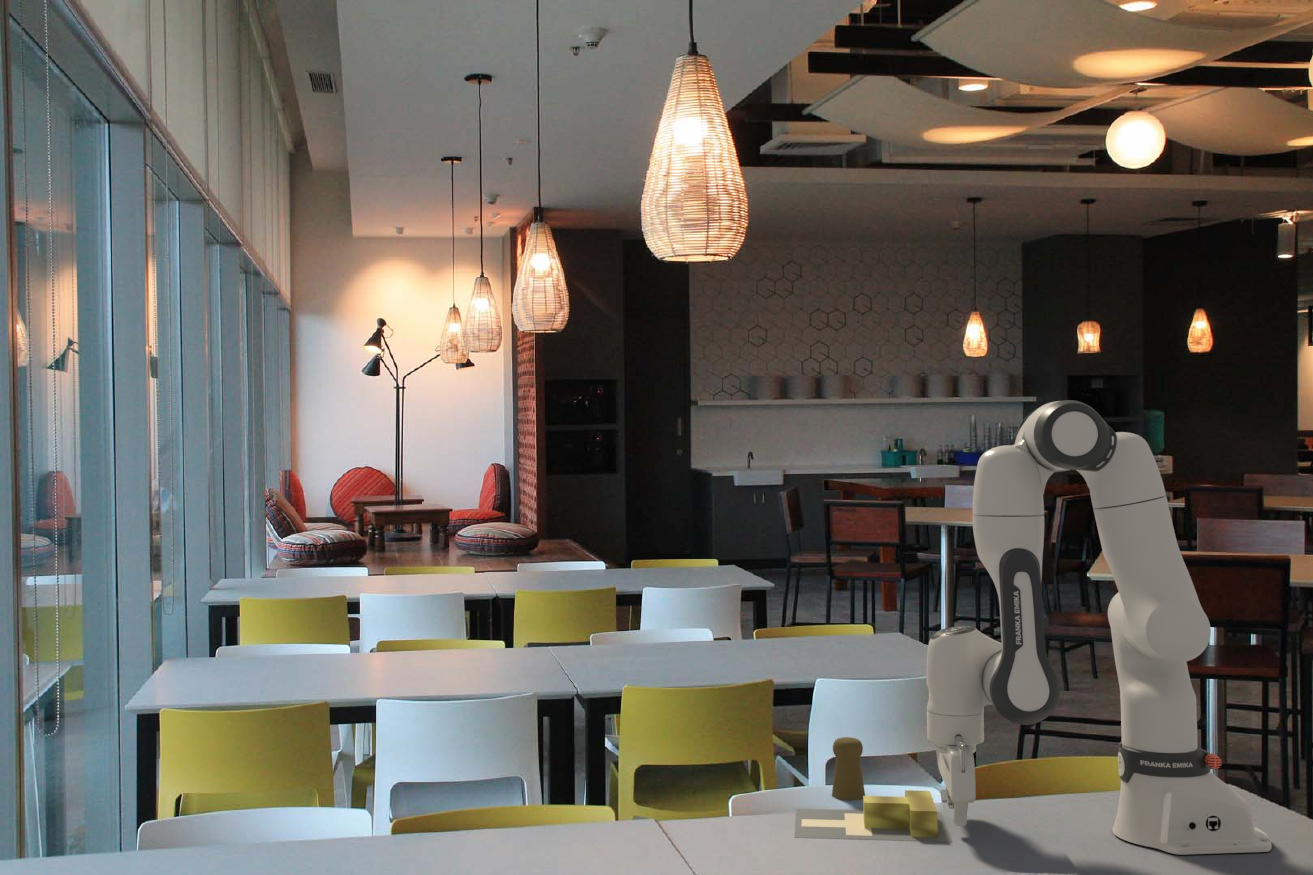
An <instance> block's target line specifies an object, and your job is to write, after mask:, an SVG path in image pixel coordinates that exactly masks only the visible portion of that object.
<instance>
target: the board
mask: <svg viewBox="0 0 1313 875" xmlns="http://www.w3.org/2000/svg"><path fill="white" fill-rule="evenodd" d="M794 823H795V824H794V838H795V839H796V838H797V839H825V840H827V839H828V840H830V839H831V840H858V841H859V840H862V841H867V840H868V841H900V842H903V841H905V842H929V843H930V842H931V843H932V842H933V843H939V842H940V843H953V839H952V836H951V835H950V832H949V830H948V826H947V823H946V821H945V819H944V816H943V813H942V812H941V811H937V826H938V838H937V837H911V833H910V830H909V829H885V828H865V827H864V815H863V809H862V810H859V809H826V808H825V809H823V808H822V809H821V808H795V822H794Z"/></svg>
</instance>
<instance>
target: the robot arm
mask: <svg viewBox="0 0 1313 875" xmlns="http://www.w3.org/2000/svg"><path fill="white" fill-rule="evenodd" d="M1071 470H1072V471H1077V473H1079V474H1080V475H1081V476H1082V478H1083V480H1084V481H1085V482H1086V483H1085V484H1086V485H1087V488H1088V489H1089V495H1090V499H1091V500H1090V501H1091V505H1092V509H1093V510H1092V511H1093V514H1094V515H1093V516H1094V519H1095V522H1096V527H1097V532H1098V537H1099V541H1100V546H1101V550H1102V551H1101V552H1102V554H1103V557H1104V560H1105V561H1106V564H1107V566H1108V568H1109V570H1110V572H1111V576H1112V577H1113V580H1114V582H1115V585H1116V588H1117V590H1118V592H1117V593H1115V595H1113V597H1112V598H1111V599H1110V602H1109V604H1108V608H1107V619H1108V624H1109V626H1110V633H1111V640H1112V641H1111V642H1112V649H1113V656H1114V662H1115V668H1116V673H1117V680H1118V685H1119V695H1120V696H1119V697H1120V721H1121V723H1120V728H1121V732H1120V733H1121V741H1120V742H1119V743H1118V752H1117V759H1118V760H1117V761H1118V762H1117V763H1118V766H1117V768H1118V775H1119V778H1120V788H1119V789H1120V790H1119V800H1118V806H1117V812H1116V816H1115V820H1114V824H1113V827H1112V833H1113V834H1114V835H1115V836H1116V837H1118V838H1120V839H1121V840H1124V841H1127V842H1129V843H1132V844H1136V845H1139V846H1142V847H1143V846H1144V847H1148V848H1153V849H1157V850H1160V851H1163V852H1166V853H1169V854H1174V855H1183V856H1184V855H1205V854H1206V855H1207V854H1210V855H1211V854H1237V853H1239V854H1240V853H1241V854H1242V853H1243V854H1244V853H1265V852H1270V851H1271V850H1272V848H1273V847H1272V840H1271V838H1270V837H1269V836H1268V834H1267V833H1266V832H1264V831H1263V830H1261V829H1260V828H1258V827H1257V826H1255V822H1254V816H1253V814H1252V810H1251V808H1250V805H1249V803H1248V802H1247V801H1246V799H1245V798H1244V797H1243V796H1241V795H1240V794H1239V793H1238V792H1237V791H1236V790H1235V789H1234V788H1232V787H1230V786H1229V784H1228V783H1226V782H1224V781H1223V780H1222V779H1220V778H1219V777H1217V775H1215V774H1214V773H1212V772H1211V770H1212V769H1213V770H1218V769H1220V768H1221V767H1220V766H1222V763H1223V762H1222V759H1221V758H1220V757H1219V756H1218V755H1216V754H1215V753H1213V752H1212V753H1210V752H1209V751H1207V750H1205V749H1203V748H1201V747H1200V746H1198V712H1197V711H1198V710H1197V706H1198V705H1197V696H1196V693H1195V690H1194V688H1193V685H1192V681H1191V677H1190V672H1189V669H1188V667H1189V666H1188V663H1187V662H1189V661H1192V660H1194V659H1196V658H1198V657H1199V656H1200V655H1201V654H1202V653H1203V652H1204V651H1205V650H1206V648H1207V647H1208V645H1209V643H1210V639H1211V636H1212V635H1211V633H1212V630H1211V624H1210V620H1209V618H1208V615H1207V614H1206V613H1205V611H1204V609H1203V607H1202V605H1201V603H1200V600H1199V597H1198V593H1197V591H1196V588H1195V585H1194V583H1193V580H1192V577H1191V576H1190V572H1189V570H1188V568H1187V566H1186V563H1185V561H1184V558H1183V555H1182V552H1181V550H1180V547H1179V544H1178V540H1177V537H1176V533H1175V529H1174V528H1175V527H1174V524H1173V519H1172V515H1171V511H1170V506H1169V503H1168V498H1167V493H1166V489H1165V486H1164V482H1163V478H1162V475H1161V473H1160V470H1159V466H1158V464H1157V462H1156V459H1155V456H1154V454H1153V452H1152V450H1151V447H1150V445H1149V443H1148V442H1147V441H1146V439H1145V438H1143V437H1142V436H1141V435H1139V434H1137V433H1136V434H1135V433H1134V432H1133V433H1132V432H1129V431H1126V432H1125V431H1117V432H1115V431H1114V429H1113V428H1112V427H1111V426H1110V425H1109V424H1108V423H1107V422H1106V420H1104V419H1103V418H1102V416H1101V414H1099V413H1098V411H1096V410H1095V409H1094V408H1093V407H1092V406H1090V405H1089V404H1086V403H1084V402H1082V401H1078V400H1072V399H1071V400H1070V399H1067V400H1057V401H1051V402H1047V403H1045V404H1043V405H1041V406H1039V407H1038V408H1036V409H1034V410H1032V411H1031V412H1030V413H1028V414H1027V415H1026V416H1025V418H1024V419H1023V420H1022V421H1021V423H1020V424H1019V426H1018V428H1017V430H1016V432H1015V434H1014V436H1013V438H1012V439H1011V441H1010V443H1009V444H1007V445H998V446H996V447H992V448H990V449H988V450H986V451H984V452H983V453H982V455H981V456H980V457H979V459H978V461H977V466H976V469H975V476H974V482H973V492H972V532H973V538H974V544H975V550H976V555H977V556H978V559H979V560H980V562H981V563H982V565H983V566H984V568H985V569H986V571H987V572H988V574H989V576H990V579H991V580H992V581H993V584H994V586H995V589H996V593H997V596H998V602H999V603H998V604H999V617H1000V618H999V620H1000V637H1001V638H1000V639H1001V640H1000V641H997V640H996V639H994V638H992V637H990V636H988V635H986V634H984V633H982V632H981V630H978V629H977V628H976V627H975V626H972V625H971V626H970V625H957V626H950V627H946V628H945V627H944V628H942V629H939V630H938V631H936V632H935V633H934V634H932V635H931V637H930V639H929V641H928V646H927V652H926V669H925V671H926V674H925V675H926V677H925V678H926V680H925V681H926V686H927V689H928V696H929V697H928V701H927V706H926V733H927V734H926V735H927V737H926V738H927V739H928V741H931V742H933V743H934V744H935V754H936V760H937V768H938V771H939V773H940V775H941V778H942V780H943V784H944V785H945V792H946V803H947V807H948V809H950V810H953V821H954V824H955V826H957V827H966V826H967V824H968V820H967V817H968V809H969V804H973V803H975V801H976V793H977V791H976V768H975V767H976V766H975V758H974V753H975V752H976V751H977V745H980V744H982V743H983V742H984V741H985V730H984V729H985V727H984V726H985V723H984V721H985V720H984V718H985V717H984V716H985V714H984V709H985V708H984V707H986V706H994V707H995V710H997V712H998V713H999V714H1000V715H1001V716H1002V717H1003V719H1006V720H1007V721H1009V722H1010V723H1013V724H1018V725H1023V726H1024V725H1025V726H1026V725H1027V726H1029V725H1034V724H1037V723H1040V722H1043V720H1045V719H1047V718H1048V717H1049V716H1050V715H1051V714H1052V713H1053V712H1054V711H1055V709H1056V707H1057V705H1058V702H1059V699H1060V693H1061V692H1060V684H1059V680H1058V677H1057V676H1056V673H1055V671H1054V669H1053V668H1052V665H1051V663H1050V661H1049V658H1048V654H1047V648H1046V639H1045V622H1044V608H1043V607H1044V606H1043V593H1042V592H1043V591H1042V590H1043V589H1042V578H1043V577H1042V575H1043V556H1044V540H1045V504H1044V503H1045V502H1044V495H1045V489H1046V485H1047V483H1048V480H1049V479H1050V477H1051V476H1052V475H1053V474H1054V473H1058V472H1066V471H1071Z"/></svg>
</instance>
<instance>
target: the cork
mask: <svg viewBox="0 0 1313 875" xmlns="http://www.w3.org/2000/svg"><path fill="white" fill-rule="evenodd" d="M863 750H864V747H863V744H862V742H861V740H859V739H858V738H855V737H850V736H845V737H839V738H837V739H836V738H835V741H834V742H833V744H832V752H833V754H834V756H835V766H834V772H833V773H834V774H833V783H832V792H831V797H832V798H835V799H837V800H842V801H860V800H863V796H866V793H865V792H866V791H865V783H864V778H863V777H864V776H863V773H862V765H861V756H862V755H863Z"/></svg>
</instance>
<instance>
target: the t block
mask: <svg viewBox="0 0 1313 875" xmlns="http://www.w3.org/2000/svg"><path fill="white" fill-rule="evenodd" d="M862 803H863V809H862V810H863V815H864V827H865V828H885V829H909V830H910V833H911V837H937V838H938V826H937V812H938V810H937V807H936V804H935V801H934V798H933V796H932V794H931V791H930V790H911V789H909V790H906V789H905V790H904V796H889V795H888V796H887V795H886V796H884V795H883V796H882V795H880V796H879V795H877V796H876V795H865V796H863V799H862Z"/></svg>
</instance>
